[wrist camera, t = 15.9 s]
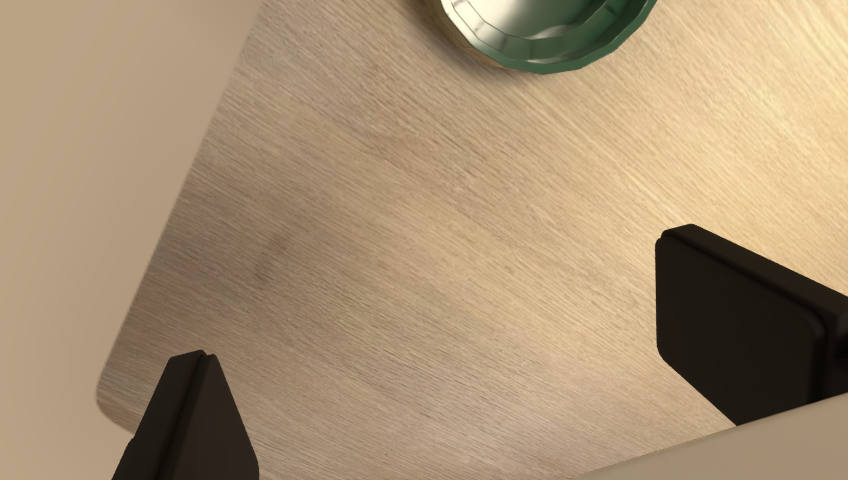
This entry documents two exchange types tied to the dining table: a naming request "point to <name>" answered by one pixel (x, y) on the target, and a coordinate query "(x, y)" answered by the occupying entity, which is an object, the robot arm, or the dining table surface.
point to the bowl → (538, 30)
